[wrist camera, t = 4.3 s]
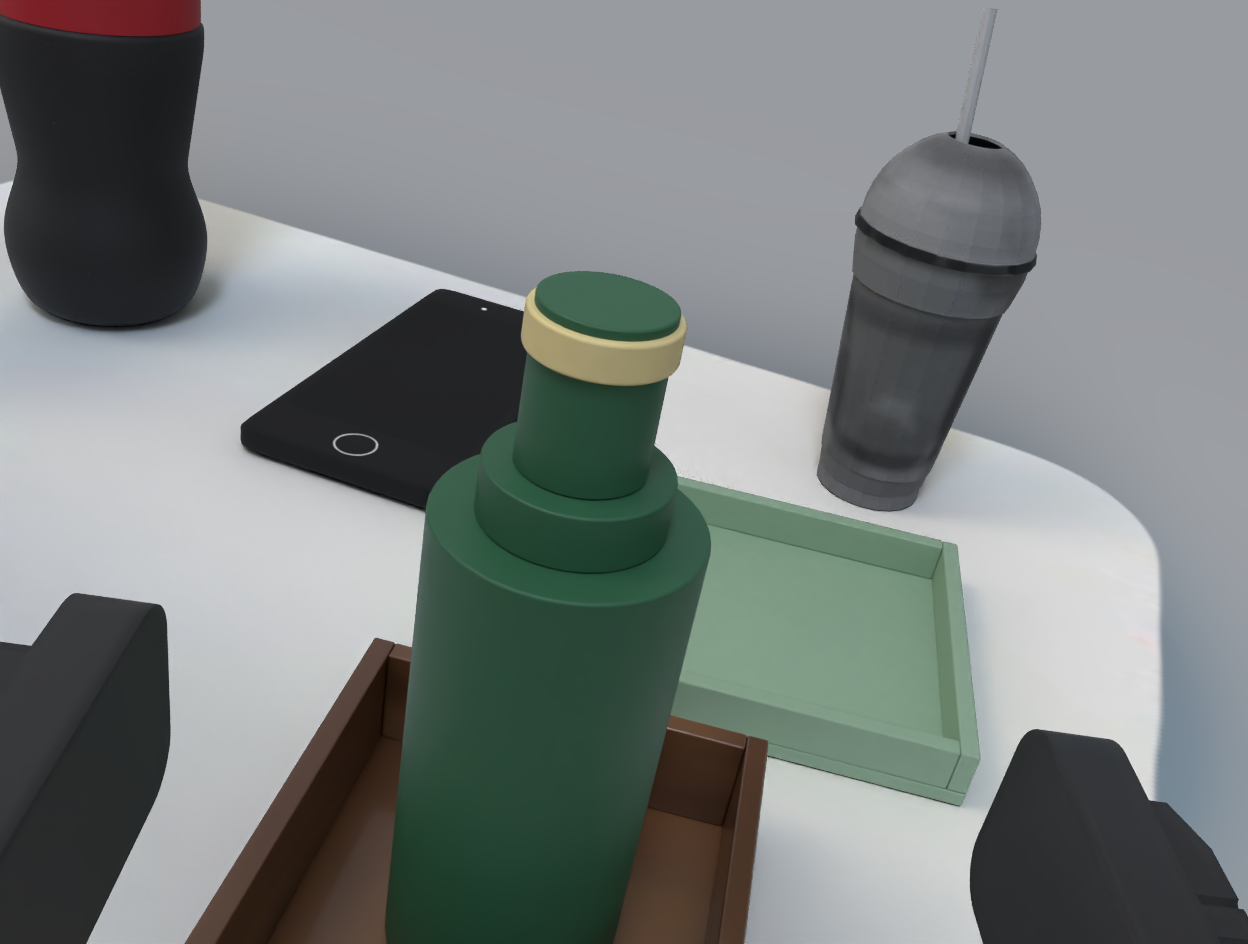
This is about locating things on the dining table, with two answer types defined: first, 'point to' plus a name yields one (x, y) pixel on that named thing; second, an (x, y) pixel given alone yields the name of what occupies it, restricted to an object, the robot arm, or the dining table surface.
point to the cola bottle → (103, 155)
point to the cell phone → (403, 399)
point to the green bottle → (548, 636)
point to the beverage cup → (925, 301)
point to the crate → (365, 815)
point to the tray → (832, 644)
